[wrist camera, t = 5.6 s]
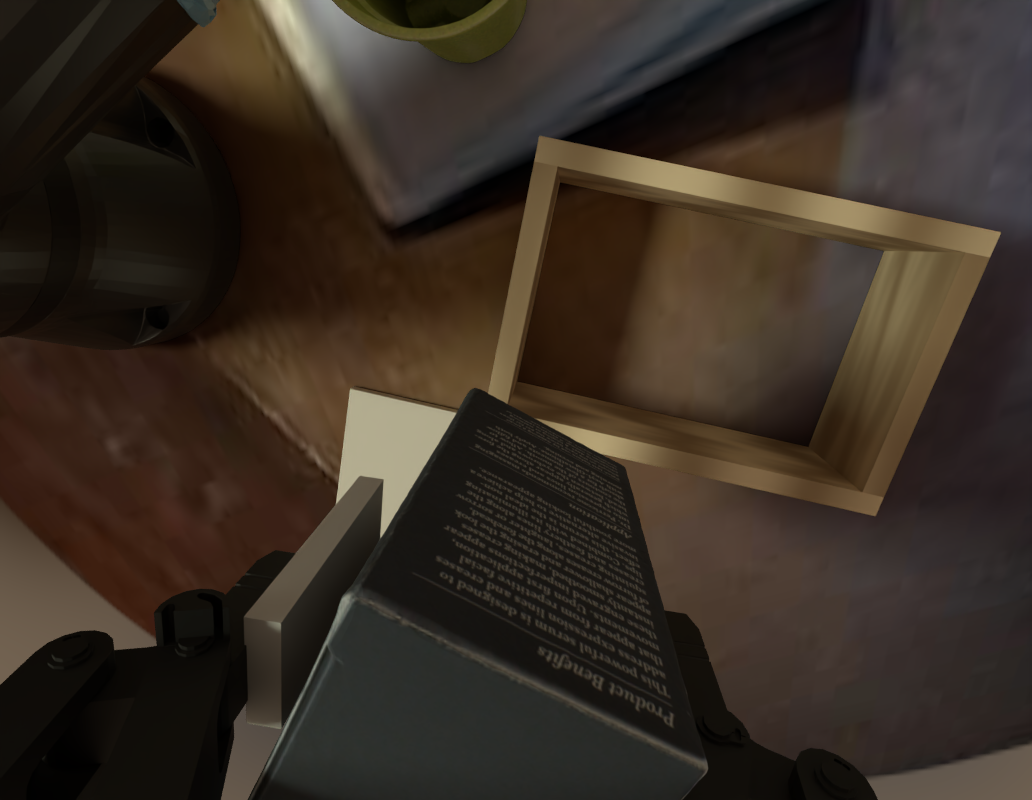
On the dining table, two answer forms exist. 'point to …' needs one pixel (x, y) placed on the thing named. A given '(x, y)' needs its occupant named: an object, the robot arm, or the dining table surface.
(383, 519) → the plate
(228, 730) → the robot arm
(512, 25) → the plant pot
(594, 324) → the dining table surface
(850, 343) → the crate
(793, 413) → the dining table surface
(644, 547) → the box
